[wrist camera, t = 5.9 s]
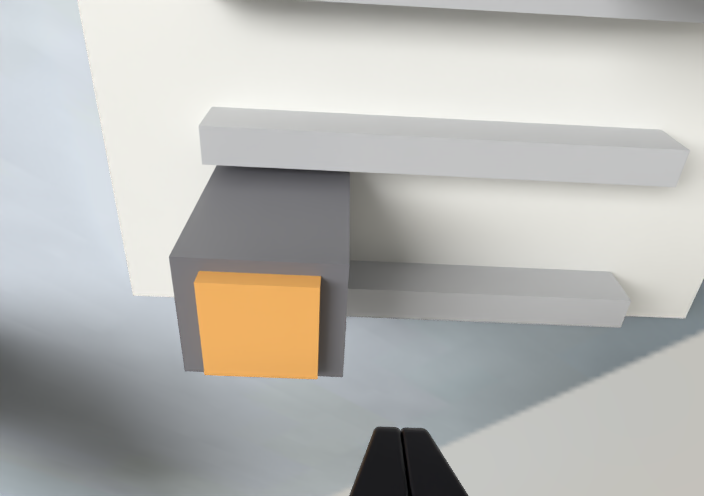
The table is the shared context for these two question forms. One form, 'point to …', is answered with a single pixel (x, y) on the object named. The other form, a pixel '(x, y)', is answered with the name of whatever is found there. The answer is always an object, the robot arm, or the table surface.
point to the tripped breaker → (265, 274)
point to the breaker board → (427, 142)
